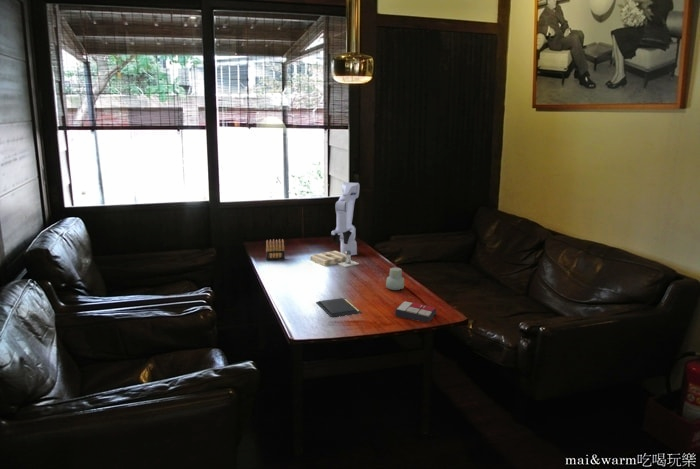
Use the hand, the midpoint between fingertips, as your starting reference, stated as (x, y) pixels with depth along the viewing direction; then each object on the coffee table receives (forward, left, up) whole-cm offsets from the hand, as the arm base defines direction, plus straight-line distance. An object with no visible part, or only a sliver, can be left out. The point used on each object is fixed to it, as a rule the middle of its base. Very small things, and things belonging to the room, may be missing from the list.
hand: (341, 245), depth 307 cm
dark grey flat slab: (+46, +58, -10) cm, 75 cm away
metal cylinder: (+1, +8, -9) cm, 12 cm away
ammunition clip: (+29, -25, -10) cm, 40 cm away
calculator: (+25, +85, -10) cm, 89 cm away
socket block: (+5, -4, -9) cm, 11 cm away
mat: (+1, +8, -9) cm, 12 cm away
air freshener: (+8, +54, -10) cm, 55 cm away
